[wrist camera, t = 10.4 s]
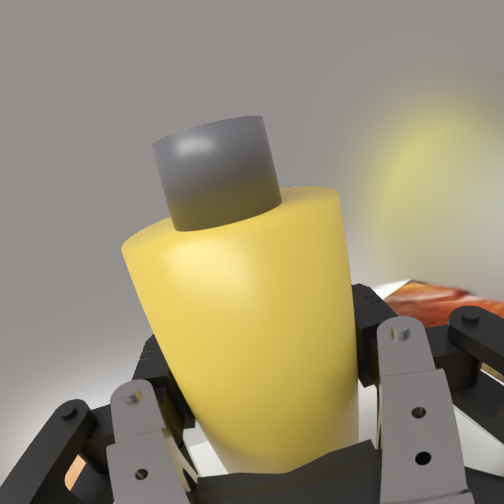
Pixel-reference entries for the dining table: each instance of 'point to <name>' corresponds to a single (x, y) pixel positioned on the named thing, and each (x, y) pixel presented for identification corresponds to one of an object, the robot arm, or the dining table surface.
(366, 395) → the tray
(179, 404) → the robot arm
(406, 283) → the dining table surface
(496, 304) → the dining table surface
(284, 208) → the squeeze bottle
